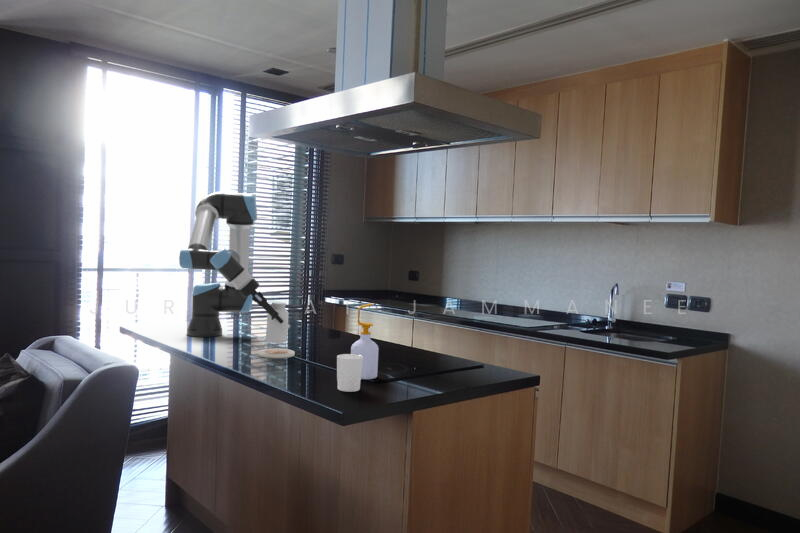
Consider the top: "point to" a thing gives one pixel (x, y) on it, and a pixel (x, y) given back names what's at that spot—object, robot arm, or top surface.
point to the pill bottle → (273, 328)
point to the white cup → (349, 372)
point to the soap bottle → (366, 350)
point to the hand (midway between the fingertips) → (286, 326)
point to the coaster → (276, 353)
